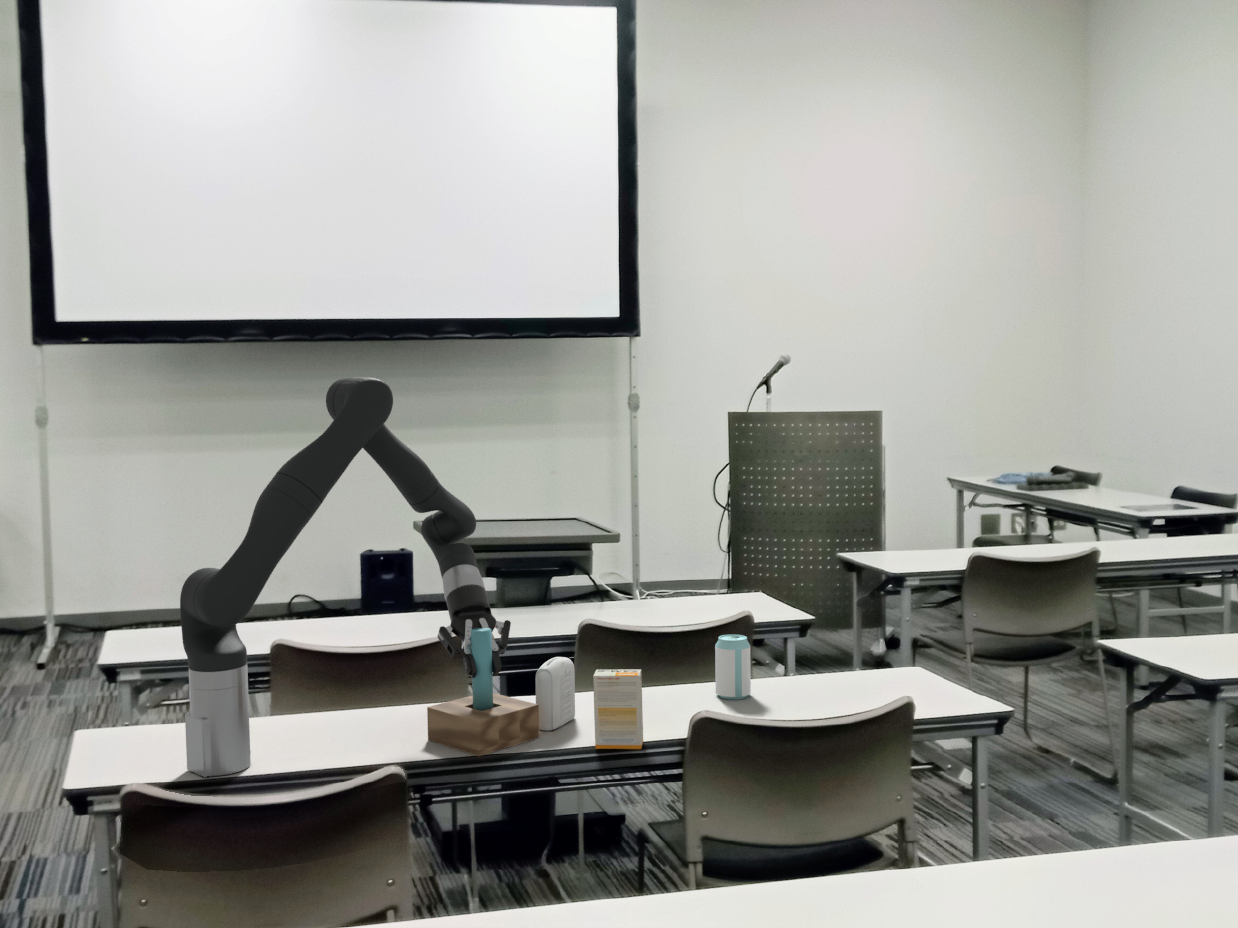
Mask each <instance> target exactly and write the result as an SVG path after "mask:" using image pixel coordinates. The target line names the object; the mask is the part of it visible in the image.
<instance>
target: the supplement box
mask: <svg viewBox="0 0 1238 928" xmlns="http://www.w3.org/2000/svg"><path fill="white" fill-rule="evenodd" d="M642 676H643V675H642V669H641V668H640V669H632V668H631V669H629V668H628V669H623V668H621V669H605V668H604V669H600V668H599V669H598V668H597V669H596V670H595V672H594V674H593V676H592V677H593V678H592V680H593V682H592V683H593V710H594V711H593V713H594V714H593V715H594V717H593V718H594V719H593V720H594V745H595V747H594V748H595V749H596V750H599V749H600V750H642V748H643V743H644V721H643V719H644V717H643V715H644V714H643V685H642V684H643V683H642V681H643V679H642V678H643V677H642Z"/></svg>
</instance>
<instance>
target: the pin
mask: <svg viewBox="0 0 1238 928" xmlns="http://www.w3.org/2000/svg"><path fill="white" fill-rule="evenodd" d="M492 634H493V633H492ZM492 634H491V629H490V628H475V629H472V630H471V654H472V655H473V658H474V662H475V666H476V670H477V674H476V677H475V678H471V681H472V682H471V684H472V685H471V686H472V688H471V689H472V695H473V709H476V710H479V711H484V710H487V709H491V708H493V693H494V685H493V684H494V681H493V680H494V679H493V677H494V675H493V671H492Z"/></svg>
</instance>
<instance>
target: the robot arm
mask: <svg viewBox="0 0 1238 928" xmlns="http://www.w3.org/2000/svg"><path fill="white" fill-rule="evenodd" d="M325 406H326V410H327V412H328V414H329V416H330V418H331V419H332V420H333V421H332V422H331V423H330V424H329V426H328V427H327V429H326V430H325V431H324V432H322V433H321V435H320V436H318V437H317V438H316V439H315V440H313V441H312V442H311V443H309V444H308V445H306V446H305V447H303V449H301V450H299V451H298V452H297V453H296V454H294V455H293V456H292V457H291V458H290V459H288V460H287V461H286V462H285V463H283V465H282V466H281V467H280V468H279V469H278V470H277V472H276V473H275V475H273V477H272V478H271V480H270V481H269V483H268V484H267V485H266V486H265V487H264V489H263V491H262V492H261V493H260V495H259V497H258V499H257V501H256V503H255V506H254V509H253V512H252V515H251V518H250V522H249V526H248V529H247V532H246V533H245V536H244V538H243V540H242V541H241V543H240V545H239V546H238V547H237V548H236V550H235V551H234V552H233V554H232V555H231V556H230V557H229V559H228V560H227V561H226V562H225V564H224V565H222V567H221V568H216V567H204V568H199V569H197V570H195V571H194V572H192V573H191V574H190V575H188V577H187V578H186V580H185V581H184V583H183V586H182V588H181V591H180V596H179V597H180V598H179V599H180V600H179V607H180V610H179V612H180V613H179V614H180V627H181V636H182V637H181V638H182V645H183V649H184V652H185V654H186V657H187V666H188V686H189V687H188V690H189V694H188V695H189V712H186V713H185V714H184V720H185V723H184V724H185V725H184V726H185V727H184V728H185V745H186V746H185V749H186V769H187V770H186V771H189V772H191V773H193V772H194V774H196V775H198V776H200V775H201V776H200V777H202V776H203V777H202V778H208V777H207V776H209V777H212V776H213V777H214V776H224V775H230V774H231V775H232V774H235V773H238V772H241V771H244V770H246V769H247V768H249V767H250V766H251V755H252V754H251V752H252V751H251V738H250V737H251V735H250V734H251V732H250V712H249V711H250V709H249V708H250V705H249V703H250V702H249V680H248V679H249V676H248V674H249V673H248V651H247V647H246V645H245V644H244V643H243V642H242V641H243V640H241V638H240V636H239V634H238V630H237V624H239V623H240V622H241V621H243V620H244V619H245V618H246V617H247V616H248V614H249V613H250V611H251V610H252V608H253V606H254V604H255V603H256V601H257V599H258V598H259V596H260V595H261V593H262V591H263V589H264V588H265V586H266V583H267V582H268V580H269V579H270V577H271V576H272V574H273V571H275V569H276V567H277V565H278V564H279V563H280V561H281V560H282V558H283V557H284V556H285V555H286V553H287V552H288V551H289V549H290V547H291V546H292V545H293V543H294V542H295V540H296V539H297V538H298V537H299V536H300V533H301V532H302V531H303V529H304V528H305V527H306V525H307V524H308V523H309V522H310V521H311V519H312V518H313V516H314V515H315V513H316V512H317V511H318V510H319V508H320V507H321V505H322V504H323V502H324V500H326V497H327V496H328V495H329V493H330V492H331V490H332V489H333V488H334V486H335V485H336V483H337V482H338V481H339V479H340V478H341V477H342V476H343V474H344V473H345V471H346V470H347V468H348V467H349V465H351V463H352V462H353V460H354V459H355V457H356V456H357V455H358V454H359V453H360V451H361V450H362V449H363V450H364V451H365V452H366V453H367V454H368V455H369V456H370V457H371V458H372V459H373V461H375V463H376V464H377V465H378V466H379V467H380V468H381V469H382V471H383V472H384V473H385V474H386V476H387V477H388V478H389V479H390V481H391V482H392V483H393V485H394V486H395V487H396V489H397V490H398V491H399V492H400V494H401V495H402V497H403V498H404V499H405V500H406V502H407V503H408V504H409V506H410V507H411V509H413V511H415V512H416V513H418V514H419V513H420V514H425V513H430V512H433V513H431V514H430V515H428V516H426V517H425V518H424V519H423V521H422V522H421V525H420V533H421V535H422V538H423V539H424V542H426V544H427V546H428V547H429V549H430V550H431V551H432V553H433V555H434V557H435V559H436V561H437V564H438V567H439V572H440V575H441V579H442V580H441V581H442V588H443V589H442V590H443V594H444V595H443V596H444V600H445V603H446V607H447V610H448V615H449V619H450V625H448V626H444V625H442V626H440V627H439V630H438V633H437V639H438V640H439V642H440V643H441V645H443V647H444V648H445V650H446V651H447V652H448V654H449V656H450V657H451V658H452V660H458V659H459V660H462V661H463V664H464V670H465V673H466V675H467V676H470V679H472V678H475V677H476V674H477V670H476V666H475V662H474V658H473V655H472V650H471V630H472V629H475V628H490V629H491V634H492V676H493V677H494V676H498V675H499V673H500V672H501V671H502V666H503V663H502V660H501V657H500V655H505V653H506V649H507V647H508V642H509V638H510V637H509V636H510V630H511V626H512V625H511V624H512V622H511V620H509V619H507V620H504V621H498V620H497V619H496V618H495V617H494V616H493V613H492V610H491V605H490V602H489V598H488V594H487V591H486V587H485V583H484V580H483V578H482V575H481V572H480V570H479V565H478V563H477V558H476V554H475V552H474V549H473V548H472V546H471V545H469V544H468V543H464V542H460V541H462V540H463V539H464V540H465V539H466V538H467V537H470V536H471V535H473V534H474V532H475V530H477V529H476V527H477V519H476V515H475V514H474V512H473V511H472V510H471V509H470V507H469V506H468V505H467V504H465V503H464V502H463V501H462V500H461V499H459V498H458V497H456V496H455V495H454V494H452V493H451V492H450V491H448V490H447V489H446V488H445V486H443V485H442V483H440V481H439V480H438V478H437V477H436V476H435V475H434V472H433V471H432V470H431V469H430V468H429V466H428V465H427V463H425V461H424V460H423V459H422V458H421V457H420V456H419V455H418V454H416V453H415V452H414V451H413V450H412V449H411V448H409V447H408V446H407V444H405V443H404V442H402V441H401V440H400V439H399V438H398V437H397V436H396V435H395V434H394V433H393V432H392V431H391V430H390V429H389V428H388V427H387V425H386V424H385V423H386V422H387V420H388V418H389V417H390V416H391V412H392V410H393V406H394V395H393V392H392V390H391V387H390V385H388V384H387V383H386V382H385V381H383V380H382V379H378V378H374V377H365V376H359V377H358V376H356V377H355V376H354V377H351V376H349V377H348V376H347V377H343V378H339V379H337V380H335V381H334V382H333V383H332V384H331V385H330V386H329V387H328V389H327V392H326V396H325ZM495 629H496V630H497V633H498V634H499V635H500V637H499V639H500V640H499V644H497V642H496V640H495V636H494V634H493V632H494V630H495ZM453 635H455V636H456V637H457V638H458V639H460V641H461V647H460V646H459V644H458V643H457V641H456V640H455V639H454V638H453Z"/></svg>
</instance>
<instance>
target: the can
mask: <svg viewBox="0 0 1238 928" xmlns="http://www.w3.org/2000/svg"><path fill="white" fill-rule="evenodd" d="M717 639H718V640H717V642H716V643H715V646H714V650H715V652H714V654H715V657H714V658H715V663H714V664H715V667H714V668H715V669H714V670H715V671H714V673H715V680H714V681H715V694H716V695H717V696H719V697H720V698H722V699H725V700H742V699H743V700H744V699H745V698H747V697H748V696H749V695H751V692H752V691H751V690H752V689H751V684H752V683H751V682H752V681H751V679H752V678H751V674H752V673H751V644H750V643H749V641H748V636H745V635H744V634H743V635H742V634H722V635H719V636H718V638H717Z"/></svg>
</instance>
